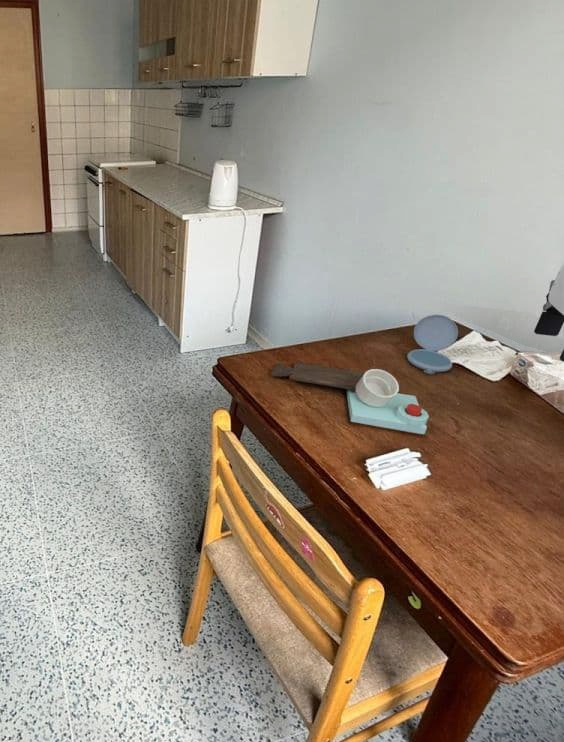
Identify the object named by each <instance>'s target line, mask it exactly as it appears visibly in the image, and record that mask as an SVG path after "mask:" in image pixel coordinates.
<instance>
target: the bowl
mask: <svg viewBox="0 0 564 742" xmlns="http://www.w3.org/2000/svg"><path fill="white" fill-rule="evenodd" d="M364 373H365V374H364V375H363V376H362V378H361V379H360V380H359V382H358V383H357V385H356V393H357V395H358V397H359V398H360V399H361V400H362V401H363V402H364V403H366V404H368V405H370V406H373V407H384V406H386V405H388V403H389V402H390V401H391V400H392V399H393V398H394V397H395V396H396V394H397V393H399V391H400V385H399V382H398V380H397V379H396V378H395V377H394V375H392V374H391V373H390V372H388V371H386V370H384V369H379V368H371V369H369V370H366V371H364Z"/></svg>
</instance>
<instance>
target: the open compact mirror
mask: <svg viewBox="0 0 564 742" xmlns="http://www.w3.org/2000/svg"><path fill="white" fill-rule="evenodd" d="M458 335H459V329H458V326H457V323H456V322H455V321H454V320H452V319H451V318H450V317H448V316H446V315H442V314H430V315H427V316H425V317H423V318H420V320H419V321H418V322H417V323H416V324H415V325H414V329H413V338H414V341H415V342H416V344H417V345H419V346H420V347H421V349H420V348H418V349H413V350H411V351H410V352H408V353H407V355H406V358H407V360H408V362H409V363H410V364H411V365H412V366H414V367H416V368H418V369H420V370H423V372H424V373H426V374H429V375H430V374H431V375H434V374H436V373H442V372H447V371H449V370H451V369H452V368H453V362H452V360H451V359H450V358H449V357H448V356H446V355H445V354H443V353H442V352H441V353H440V352H439V351H443V350H447V349H448V348H450V347H452V346H453V344H455V342H456V341H457V339H458Z"/></svg>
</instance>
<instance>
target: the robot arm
mask: <svg viewBox="0 0 564 742" xmlns="http://www.w3.org/2000/svg"><path fill="white" fill-rule="evenodd" d="M545 298H546V302H545V303H544V304H543V306H542V312H541V314H540V316H539V318H538V320H537V323H536V325H535V328H534V330H533V333H534V334H536V335H541V336H549V337H558V336H559V334H560V332H561V330H562V328H563V326H564V262H563V263H562V265H561V267H560V269H559V271H558V273H557V275H556V276H555V279H552V280H551V281H550V283H549V289H548V293H547V294H546V295H545ZM559 360H560V361H561V362H563V363H564V348H563V350H562V351H561V353H560V356H559Z"/></svg>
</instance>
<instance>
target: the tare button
mask: <svg viewBox="0 0 564 742" xmlns="http://www.w3.org/2000/svg"><path fill="white" fill-rule="evenodd" d="M422 409H423V407H422V406H420V405H419V406H418V405H415V404H409V405H408V406H407V409H406V413H407V414H409V415H411V416H415V417H419V416H420V414H421V411H422Z"/></svg>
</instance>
